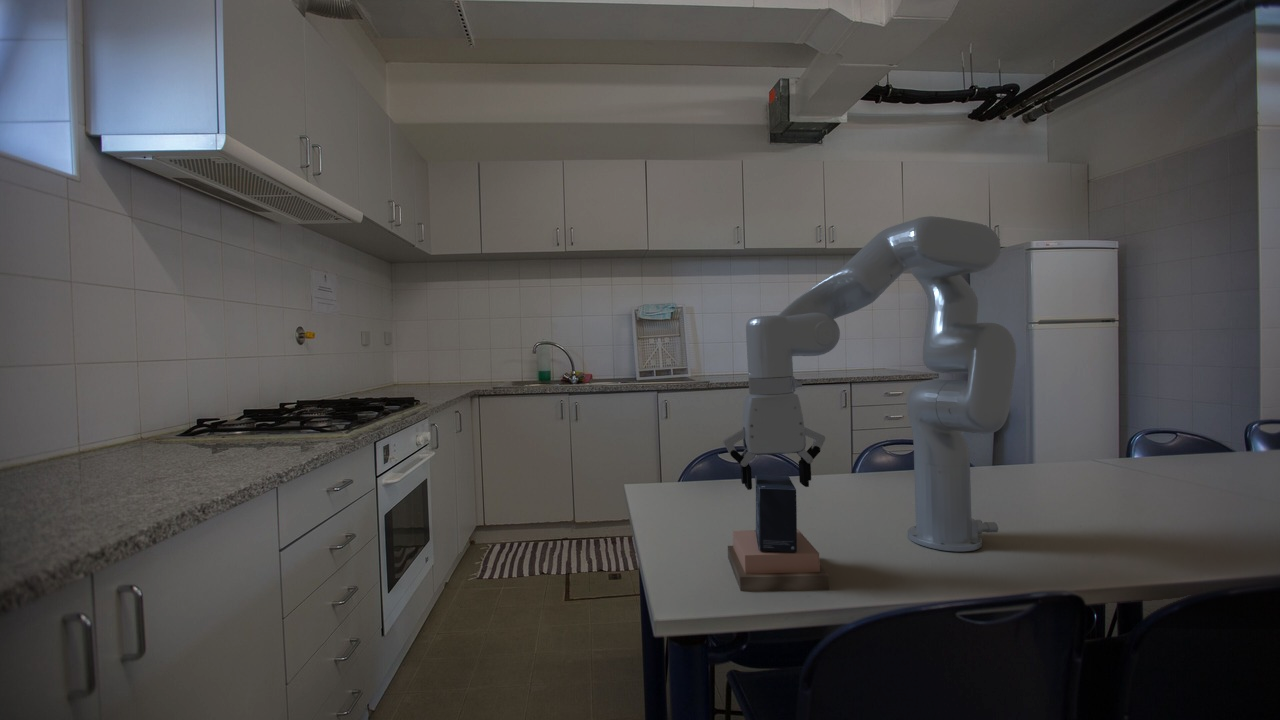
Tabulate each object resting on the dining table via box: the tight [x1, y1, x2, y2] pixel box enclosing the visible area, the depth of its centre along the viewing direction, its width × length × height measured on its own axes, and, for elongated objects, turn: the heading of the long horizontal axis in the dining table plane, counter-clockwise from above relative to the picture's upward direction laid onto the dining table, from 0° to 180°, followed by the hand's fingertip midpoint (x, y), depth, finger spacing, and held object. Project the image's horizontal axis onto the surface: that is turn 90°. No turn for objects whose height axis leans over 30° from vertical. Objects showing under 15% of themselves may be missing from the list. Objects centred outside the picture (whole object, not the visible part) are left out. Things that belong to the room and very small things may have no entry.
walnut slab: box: [727, 545, 830, 592], centre depth 90 cm, size 14×14×3 cm
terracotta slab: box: [732, 528, 821, 574], centre depth 90 cm, size 12×12×3 cm
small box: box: [754, 474, 798, 552], centre depth 90 cm, size 11×6×10 cm, turn 171°
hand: (776, 486), depth 90 cm, fingers open, 9 cm apart
